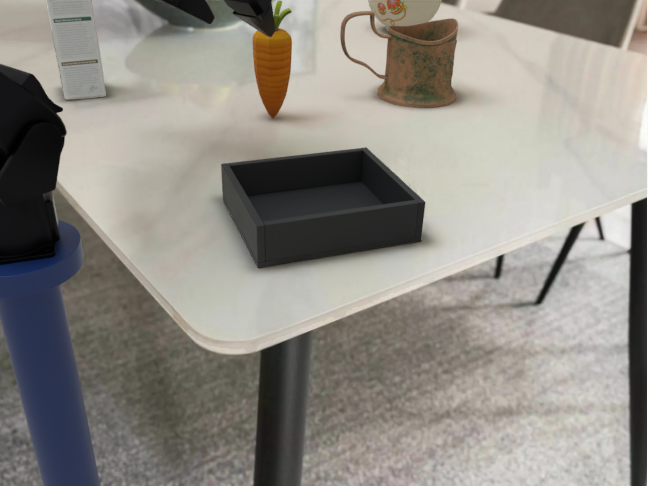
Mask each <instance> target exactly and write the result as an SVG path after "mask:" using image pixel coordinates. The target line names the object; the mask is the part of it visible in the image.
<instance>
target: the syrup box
mask: <svg viewBox="0 0 648 486" xmlns="http://www.w3.org/2000/svg"><path fill="white" fill-rule="evenodd" d="M45 2H46V8H47V14H48V20H49V26H50V31H51V37H52V42H53V49H54V53H55V58H56V64H57V69H58V74H59V79H60V80H59V81H60V85H61V90H62V94H63V98H64V100H65V101H66V100H67V101H68V100H83V99H84V100H87V99H96V98H103V97H106V96H107V90H106V83H105V76H104V69H103V61H102V55H101V49H100V43H99V35H98V29H97V23H96V18H95V12H94V6H93V0H45Z"/></svg>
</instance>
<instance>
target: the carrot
mask: <svg viewBox="0 0 648 486" xmlns="http://www.w3.org/2000/svg"><path fill="white" fill-rule="evenodd" d="M282 4H283V1H282V0H277V2H276V4H275V6H274V7H275V8H274V11H273V15H274V22H275V28H276V30H275V32H274V34H273V36H272V37H268V36H266V35H265V34H263V33H261V32H260V31H258V30H256V31H255V32H254V33H253V35H252V58H253V68H254V75H255V82H256V85H257V89H258V94H259V96H260V99H261V102H262V105H263V106H264V108H265V110H266V112H267V114H268V115H269V117H271V118H272V119H273V118H275V117H276V116H277V115H278V114H279V113H280V110H281V108H282V106H283V104H284V102H285V99H286V96H287V93H288V89H289V88H288V87H289V83H290V77H291V72H292V70H291V69H292V56H293V55H292V51H293V50H292V49H293V39H292V36H291V34H289V33H288V32H287V30H285V29H284V28H280V25H281V24H282V21H283V20H284V19H285V18H286V17H287V16H288V15H291V13H292V9H290V7H288V8H285V9H283V10H282V11H281V8H282ZM280 11H281V12H280Z"/></svg>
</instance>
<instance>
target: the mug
mask: <svg viewBox="0 0 648 486" xmlns="http://www.w3.org/2000/svg"><path fill="white" fill-rule="evenodd" d="M361 16H369V24H370V28H371V30H372V32H373V33H374V34H375V35H376V36H377V37H379V38H382V39H387V44H386V60H385V70H384V74H379V73H377V72H376V71H375V70H374V69H373V68H372V67H371V66H370V65H368V64H367V63H366V62H363V61H362V60H359V59H356V58H354V57H352V56H351V55H350V54H349V52H348V49H347V46H346V27H347V26H346V25H347V24H348V22H349V21H350V20H351V19H353V18H357V17H361ZM375 18H376V17H375V13H374V12H373V11H371V10H361V11H354V12H351V13H349V14H346V16H345V17H343V20H341V23H340V31H339V34H340V35H339V37H340V39H339V40H340V45H341V49H342V52H343V54H344V55H345V56H346V58H347V59H348V60H349V61H351V62H352V63H354V64H357V65H359V66H363V67H364V68H366V69H367V70H369V71H370V72H371V73H372V74H373V75H375V76H376V77H377V78H379V79H380V80H383V82H382V83H381V84H380V85H379V86H378V87H377V90H376V94H377V97H378V98H379V99H381V100H382V101H384V102H387V103H389V104H393V105H397V106H401V107H408V108H418V109H420V108H421V109H423V108H424V109H427V108H428V109H429V108H431V109H432V108H440V107H445V106H449V105H452V104H453V103H454V102H456V100H457V92H456V90H454V88H453V87H452V80H453V79H452V78H453V74H454V65H455V54H456V48H457V44H458V40H457V36H458V31H459V21H458V20H457V19H456V18H454V17H453V18H444V19H438V20H430V21H429V22H425V23H421V24H416V25H409V26H389V27H388V32H387V34H384V33H383V34H382V33H380V32H379V31H378V30H377V27H376V23H375V22H376V21H375Z"/></svg>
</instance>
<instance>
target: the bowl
mask: <svg viewBox="0 0 648 486" xmlns="http://www.w3.org/2000/svg"><path fill="white" fill-rule="evenodd" d="M442 2H443V0H367V3H368V6H369V9H370V11H373V12H374V13H375V18H376V20H377V21H378V22H379V23H381V24H382V25H384V26H385V31H386V33H388V27H389V26H409V25H416V24H421V23H425V22H430V21H432V19H433V18H434V17H435V15H436V14H437V13H438V11H439V9H440V7H441V4H442Z"/></svg>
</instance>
